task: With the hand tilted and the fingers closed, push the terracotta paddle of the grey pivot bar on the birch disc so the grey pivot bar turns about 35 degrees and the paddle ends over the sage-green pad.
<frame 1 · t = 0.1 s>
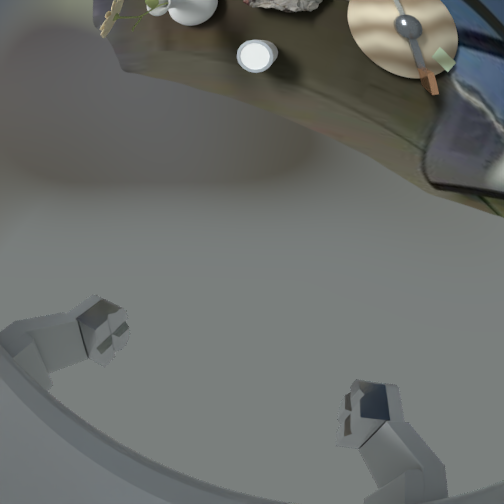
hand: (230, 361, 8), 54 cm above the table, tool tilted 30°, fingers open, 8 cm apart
white cylinder: (264, 52, 43), on the table
grey pivot bar: (414, 36, 27), point 5 cm above the table, hinge at 0.0°
stand: (404, 26, 29), on the table
flower in vase: (193, 5, 37), on the table
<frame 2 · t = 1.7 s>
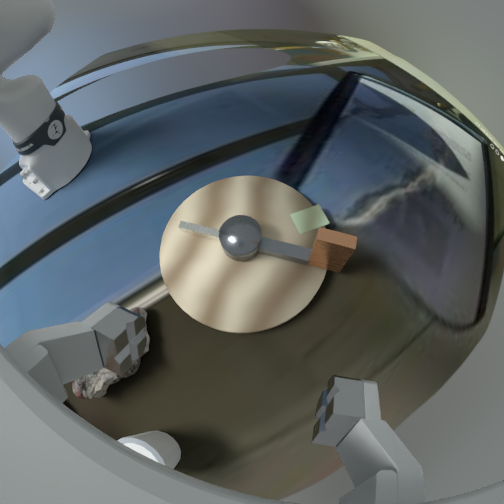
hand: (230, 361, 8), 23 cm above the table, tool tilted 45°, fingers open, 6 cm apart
mineral rock: (117, 355, 31), on the table
white cylinder: (160, 449, 26), on the table
grey pivot bar: (256, 233, 30), point 5 cm above the table, hinge at 0.0°
stand: (243, 248, 36), on the table
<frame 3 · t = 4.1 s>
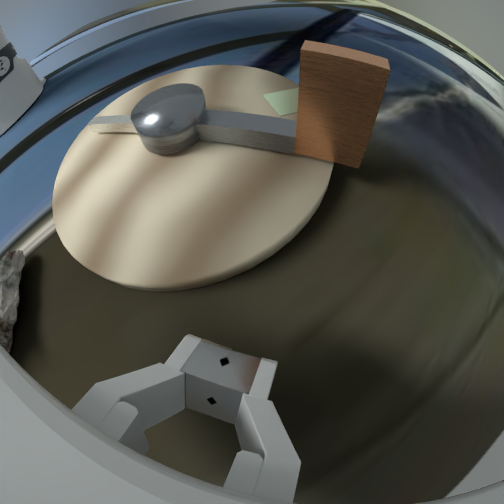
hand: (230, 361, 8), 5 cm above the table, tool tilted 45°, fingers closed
grey pivot bar: (189, 90, 14), point 5 cm above the table, hinge at 0.0°
stand: (182, 147, 19), on the table
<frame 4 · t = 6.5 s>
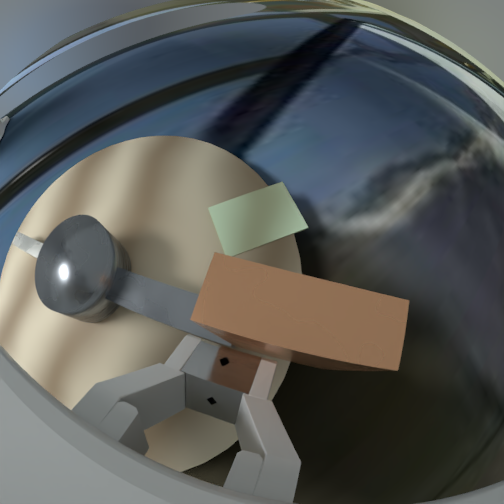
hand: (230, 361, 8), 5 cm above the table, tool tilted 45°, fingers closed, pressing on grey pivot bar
grey pivot bar: (80, 263, 9), point 5 cm above the table, hinge at 0.2°, touching gripper
stand: (110, 288, 15), on the table
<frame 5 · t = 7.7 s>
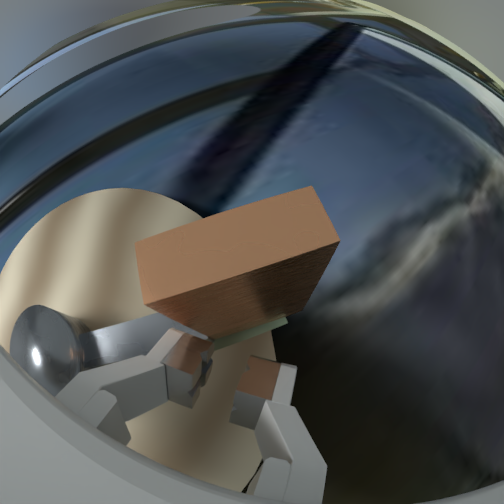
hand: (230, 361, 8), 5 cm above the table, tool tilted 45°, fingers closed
grey pivot bar: (46, 346, 8), point 5 cm above the table, hinge at 34.9°, touching gripper
stand: (86, 362, 13), on the table
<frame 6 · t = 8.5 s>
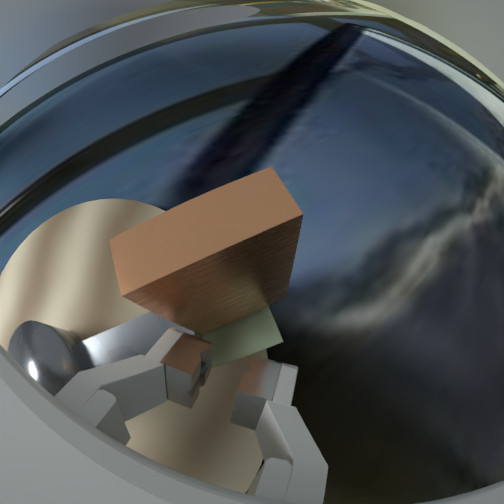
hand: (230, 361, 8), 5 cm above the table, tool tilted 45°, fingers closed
grey pivot bar: (40, 359, 8), point 5 cm above the table, hinge at 41.8°, touching gripper
stand: (82, 375, 12), on the table
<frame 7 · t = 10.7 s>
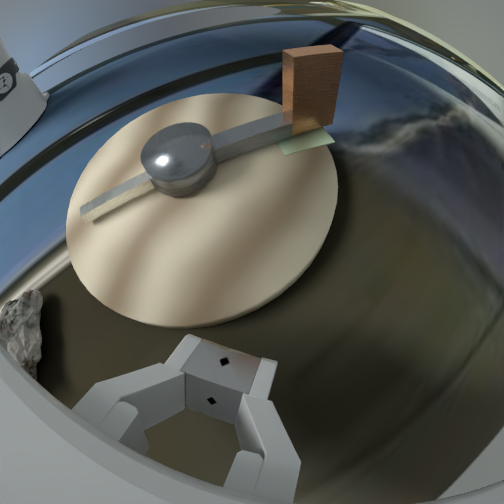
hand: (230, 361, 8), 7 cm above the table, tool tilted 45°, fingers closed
mineral rock: (18, 364, 15), on the table
grey pivot bar: (199, 122, 16), point 5 cm above the table, hinge at 41.9°
stand: (190, 184, 20), on the table
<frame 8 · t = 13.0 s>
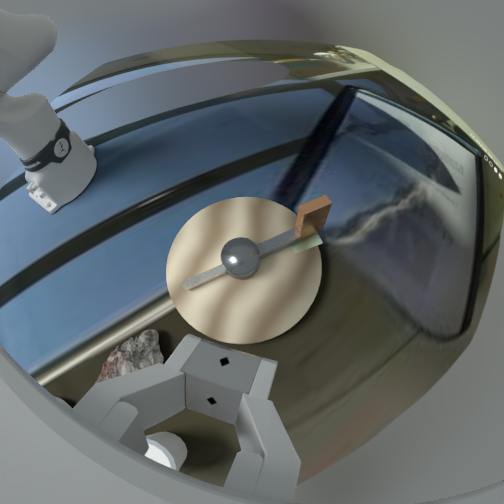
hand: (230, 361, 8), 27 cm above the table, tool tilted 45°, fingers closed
mineral rock: (133, 374, 34), on the table
white cylinder: (168, 448, 29), on the table
grey pivot bar: (253, 245, 34), point 5 cm above the table, hinge at 41.9°
stand: (243, 266, 39), on the table
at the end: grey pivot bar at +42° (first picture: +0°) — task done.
